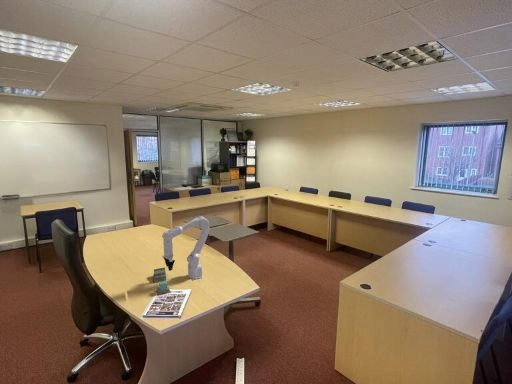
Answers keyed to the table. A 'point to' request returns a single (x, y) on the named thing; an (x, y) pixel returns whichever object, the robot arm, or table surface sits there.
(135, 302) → the table surface
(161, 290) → the tower mid
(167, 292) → the tower base
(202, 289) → the table surface
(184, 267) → the table surface
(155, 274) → the stone block
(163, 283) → the teal block
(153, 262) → the table surface
